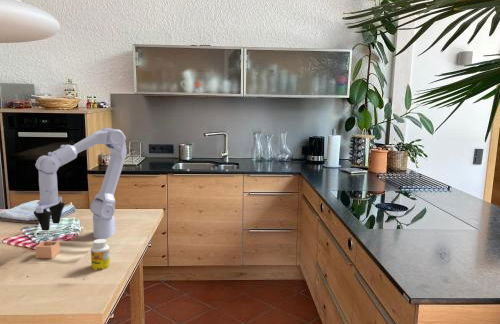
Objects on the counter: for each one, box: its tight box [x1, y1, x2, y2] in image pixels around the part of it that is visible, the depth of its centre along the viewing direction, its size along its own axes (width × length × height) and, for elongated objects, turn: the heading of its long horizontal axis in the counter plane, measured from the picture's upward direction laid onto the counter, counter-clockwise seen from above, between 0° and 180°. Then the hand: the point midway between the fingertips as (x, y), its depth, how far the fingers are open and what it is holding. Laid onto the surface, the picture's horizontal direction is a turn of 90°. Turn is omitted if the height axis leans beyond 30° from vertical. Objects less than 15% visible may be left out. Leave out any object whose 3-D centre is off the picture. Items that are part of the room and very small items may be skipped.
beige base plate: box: [25, 240, 93, 265], centre depth 137 cm, size 20×16×2 cm
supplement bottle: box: [90, 238, 111, 271], centre depth 126 cm, size 6×6×10 cm
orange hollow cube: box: [34, 240, 60, 258], centre depth 133 cm, size 5×5×5 cm
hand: (51, 226), depth 140 cm, fingers open, 7 cm apart
